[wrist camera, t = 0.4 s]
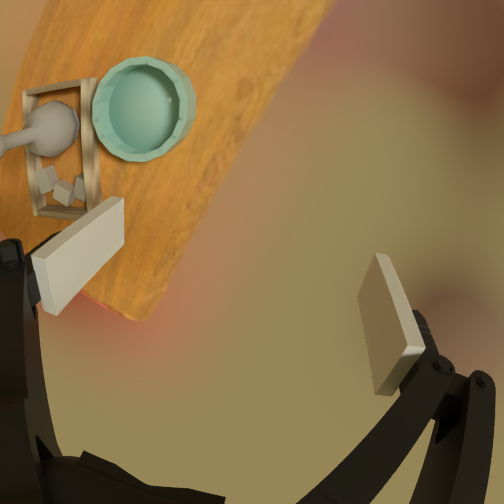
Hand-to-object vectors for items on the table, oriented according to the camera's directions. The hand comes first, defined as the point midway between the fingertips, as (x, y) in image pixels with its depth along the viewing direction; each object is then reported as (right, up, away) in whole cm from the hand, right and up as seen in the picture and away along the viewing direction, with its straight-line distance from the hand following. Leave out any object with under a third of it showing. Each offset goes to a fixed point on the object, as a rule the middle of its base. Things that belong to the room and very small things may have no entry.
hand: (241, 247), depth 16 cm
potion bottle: (-29, +20, +26) cm, 44 cm away
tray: (-29, +16, +27) cm, 43 cm away
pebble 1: (-30, +10, +31) cm, 44 cm away
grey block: (-34, +13, +30) cm, 47 cm away
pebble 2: (-26, +10, +30) cm, 41 cm away
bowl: (-14, +19, +23) cm, 33 cm away
